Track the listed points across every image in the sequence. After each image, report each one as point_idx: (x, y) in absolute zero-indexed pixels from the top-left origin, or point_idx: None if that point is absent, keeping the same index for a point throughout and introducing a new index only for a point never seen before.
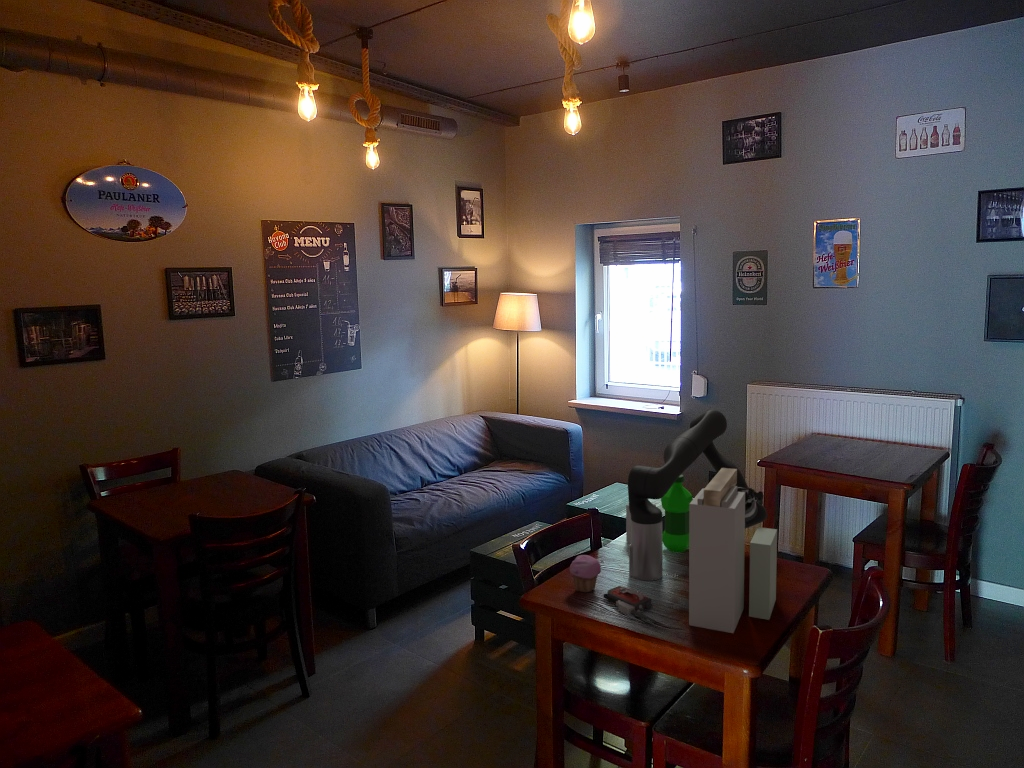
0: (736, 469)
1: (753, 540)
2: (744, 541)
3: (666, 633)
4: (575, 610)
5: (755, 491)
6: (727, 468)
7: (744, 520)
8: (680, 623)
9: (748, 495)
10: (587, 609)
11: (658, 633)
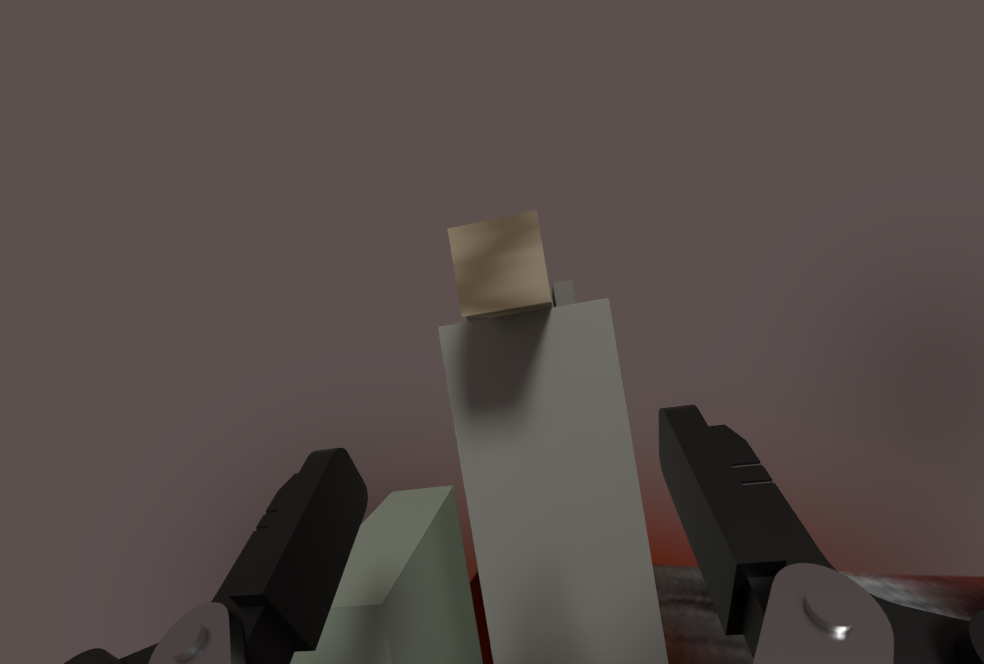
0: (451, 230)
1: (439, 496)
2: (471, 525)
3: (664, 581)
4: (949, 583)
5: (183, 627)
6: (502, 218)
7: (458, 435)
8: (663, 626)
9: (358, 529)
10: (935, 598)
11: (678, 575)
